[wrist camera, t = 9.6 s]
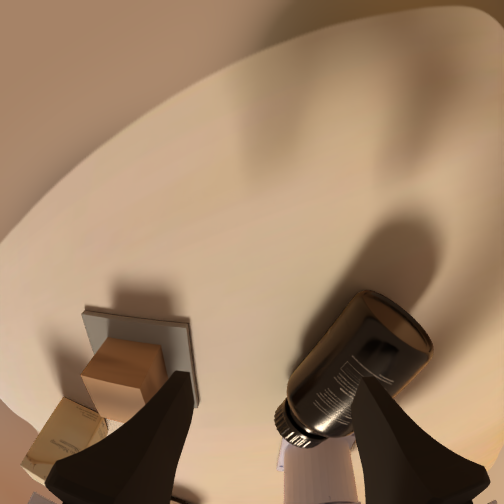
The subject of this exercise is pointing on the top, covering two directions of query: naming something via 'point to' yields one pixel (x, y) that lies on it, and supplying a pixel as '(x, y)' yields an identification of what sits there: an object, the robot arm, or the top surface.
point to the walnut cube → (124, 377)
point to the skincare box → (63, 437)
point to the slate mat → (145, 338)
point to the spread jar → (176, 501)
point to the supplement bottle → (351, 368)
